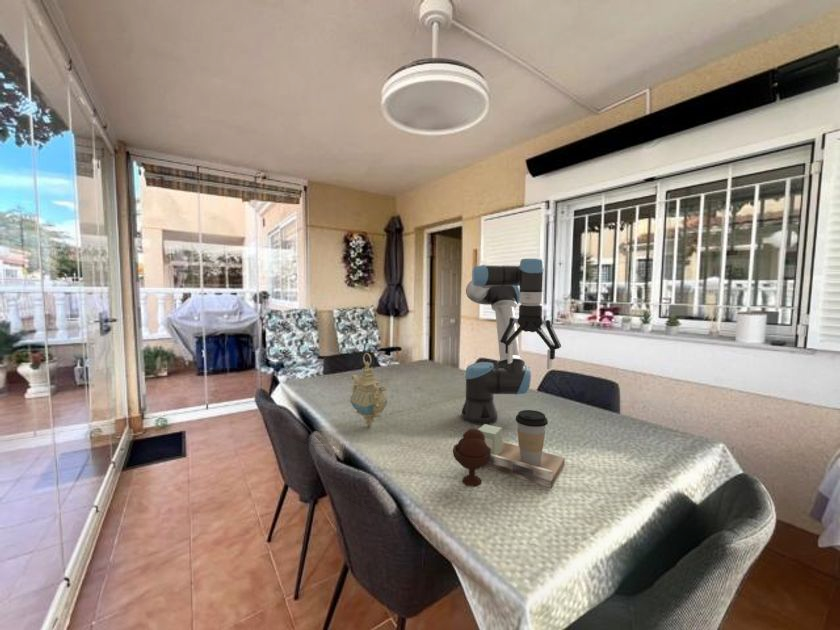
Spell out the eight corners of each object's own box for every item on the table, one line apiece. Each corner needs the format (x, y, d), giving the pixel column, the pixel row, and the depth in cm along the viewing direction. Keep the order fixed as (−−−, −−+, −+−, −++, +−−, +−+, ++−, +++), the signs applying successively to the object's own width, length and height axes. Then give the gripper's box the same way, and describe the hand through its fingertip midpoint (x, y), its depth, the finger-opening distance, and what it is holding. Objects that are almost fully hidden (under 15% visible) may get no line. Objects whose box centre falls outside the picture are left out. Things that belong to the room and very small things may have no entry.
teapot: (342, 421, 148) (339, 350, 146) (366, 415, 156) (364, 347, 153) (372, 440, 130) (370, 359, 127) (397, 432, 137) (396, 355, 135)
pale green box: (476, 454, 114) (476, 430, 114) (484, 447, 119) (484, 424, 119) (494, 459, 111) (494, 434, 110) (501, 451, 116) (501, 427, 115)
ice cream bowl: (449, 472, 107) (449, 424, 106) (485, 470, 108) (486, 422, 107) (456, 493, 97) (456, 439, 95) (496, 490, 98) (496, 437, 96)
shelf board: (472, 464, 112) (472, 450, 112) (492, 445, 125) (492, 432, 125) (550, 488, 99) (551, 472, 98) (564, 463, 112) (564, 450, 111)
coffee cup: (515, 468, 106) (516, 419, 104) (514, 453, 115) (514, 408, 114) (549, 471, 104) (550, 421, 102) (544, 455, 113) (545, 409, 112)
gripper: (491, 303, 124) (490, 362, 127) (566, 307, 110) (564, 373, 113) (500, 302, 130) (499, 358, 133) (572, 305, 116) (569, 368, 119)
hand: (528, 365), depth 123 cm, fingers open, 13 cm apart
